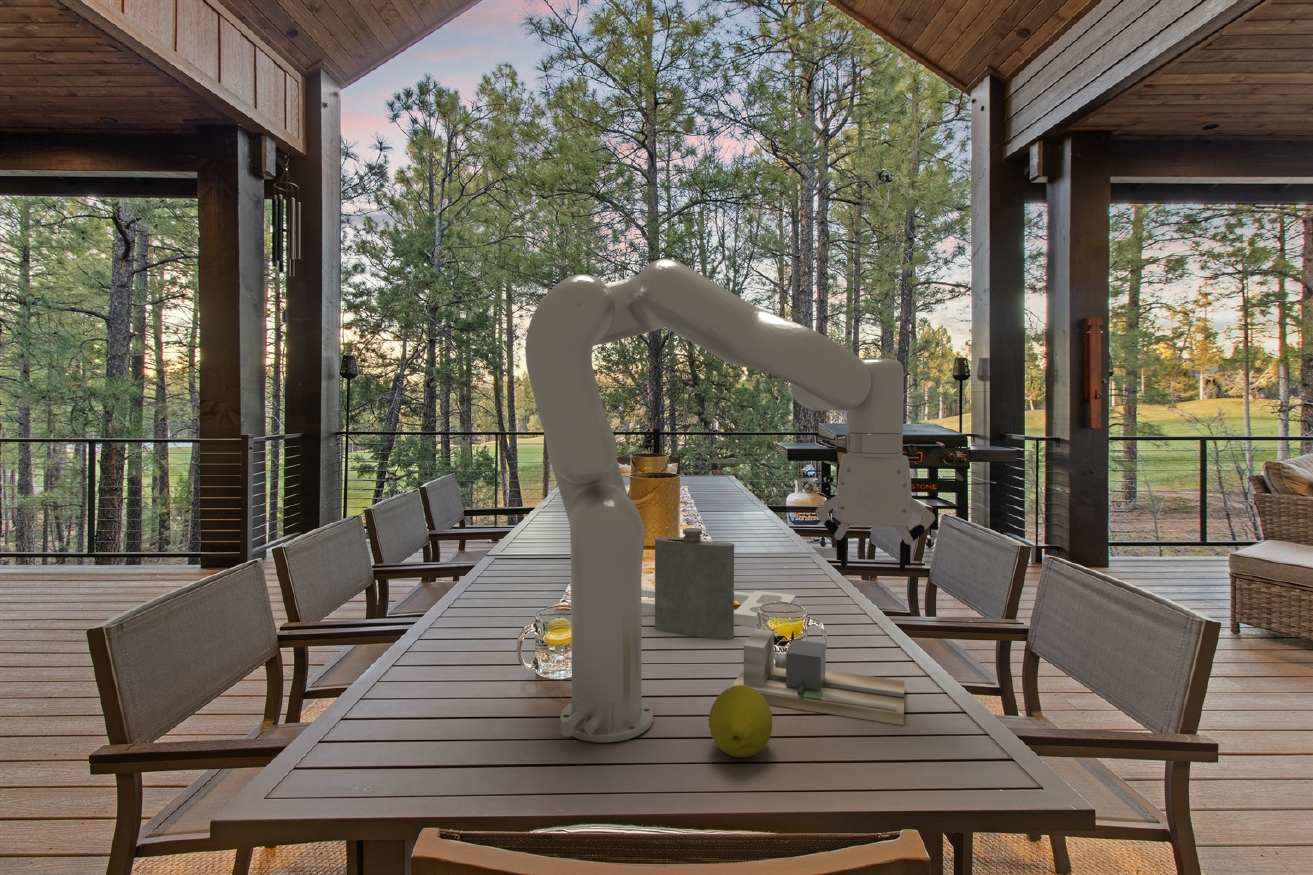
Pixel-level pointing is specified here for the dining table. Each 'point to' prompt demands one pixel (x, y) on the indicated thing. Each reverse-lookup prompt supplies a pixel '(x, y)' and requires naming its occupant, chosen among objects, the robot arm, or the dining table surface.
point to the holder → (748, 601)
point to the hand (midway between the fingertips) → (873, 567)
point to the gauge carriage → (803, 665)
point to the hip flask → (694, 586)
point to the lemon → (740, 721)
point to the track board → (837, 692)
